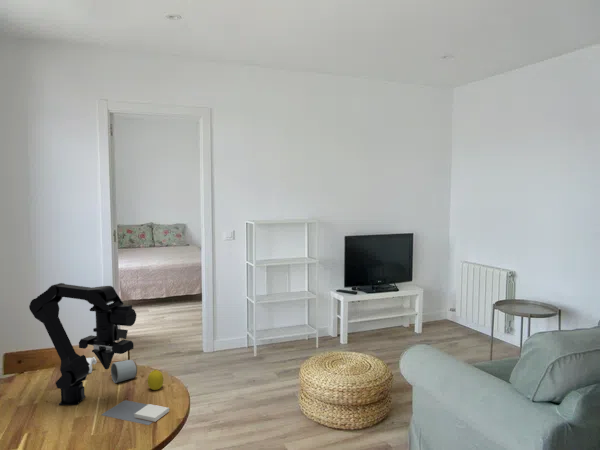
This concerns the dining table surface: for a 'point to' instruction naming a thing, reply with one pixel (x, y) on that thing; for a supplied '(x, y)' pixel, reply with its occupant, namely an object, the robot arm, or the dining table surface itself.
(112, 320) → the robot arm
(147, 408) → the tile
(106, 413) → the mat
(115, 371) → the ceramic mug
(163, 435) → the dining table surface
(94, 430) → the dining table surface
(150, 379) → the lemon
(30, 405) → the dining table surface
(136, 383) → the dining table surface
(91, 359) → the elephant figurine
